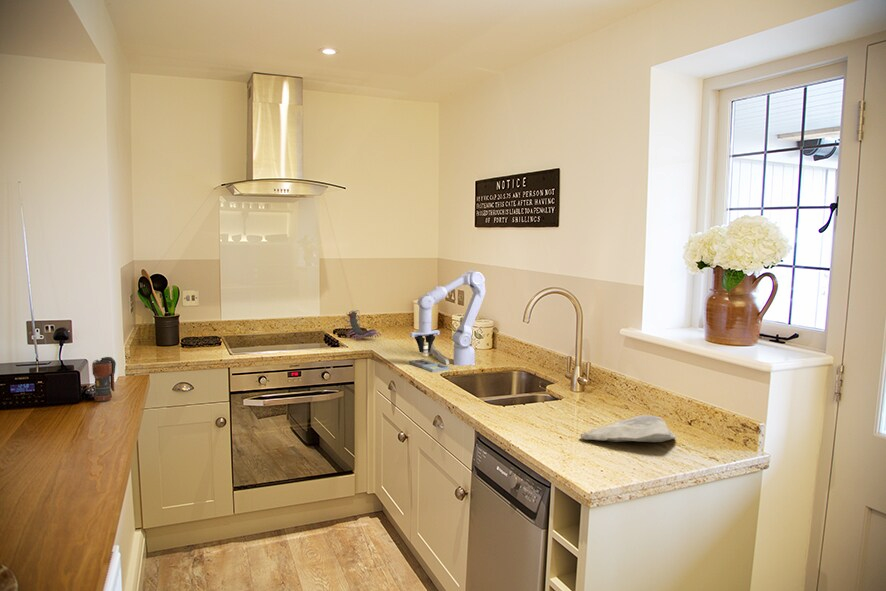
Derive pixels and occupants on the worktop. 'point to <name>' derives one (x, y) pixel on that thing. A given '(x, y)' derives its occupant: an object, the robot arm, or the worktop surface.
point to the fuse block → (420, 362)
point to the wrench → (438, 355)
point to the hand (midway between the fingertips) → (424, 351)
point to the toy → (356, 327)
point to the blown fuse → (425, 350)
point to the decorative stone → (633, 430)
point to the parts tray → (443, 367)
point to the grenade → (103, 378)
